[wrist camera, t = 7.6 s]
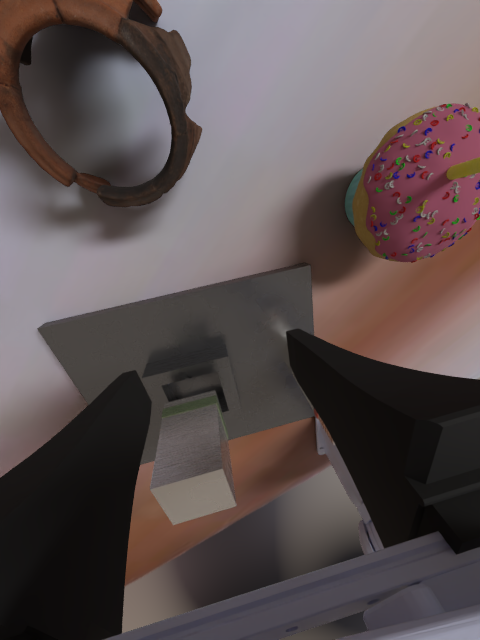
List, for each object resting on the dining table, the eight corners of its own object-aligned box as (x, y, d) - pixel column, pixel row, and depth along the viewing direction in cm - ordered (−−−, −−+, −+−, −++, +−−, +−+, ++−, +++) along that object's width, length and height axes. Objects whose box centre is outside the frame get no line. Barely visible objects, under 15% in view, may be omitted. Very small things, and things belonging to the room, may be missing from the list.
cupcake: (302, 201, 18) (460, 187, 7) (389, 97, 16) (793, -142, 5) (361, 271, 21) (529, 333, 10) (439, 192, 19) (745, 169, 8)
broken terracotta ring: (213, 29, 13) (242, 55, 9) (169, 184, 20) (173, 245, 15) (-127, -257, 7) (-561, -612, 3) (-32, 99, 14) (-123, 159, 9)
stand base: (313, 408, 28) (360, 488, 20) (133, 458, 26) (104, 566, 18) (305, 262, 20) (378, 297, 12) (45, 323, 18) (-74, 409, 10)
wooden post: (226, 424, 20) (237, 506, 14) (180, 437, 20) (172, 525, 14) (215, 389, 18) (223, 467, 12) (164, 402, 18) (148, 489, 12)
